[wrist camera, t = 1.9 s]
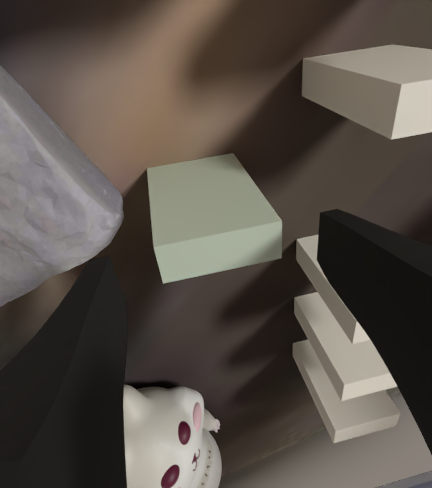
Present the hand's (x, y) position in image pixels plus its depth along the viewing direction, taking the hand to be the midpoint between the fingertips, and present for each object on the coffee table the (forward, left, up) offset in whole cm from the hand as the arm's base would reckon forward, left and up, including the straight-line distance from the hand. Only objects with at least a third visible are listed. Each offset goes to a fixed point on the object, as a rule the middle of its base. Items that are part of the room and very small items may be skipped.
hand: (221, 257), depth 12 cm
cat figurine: (-1, +20, -8) cm, 21 cm away
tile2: (-6, -6, -7) cm, 11 cm away
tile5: (-11, +8, -7) cm, 16 cm away
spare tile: (0, 0, -7) cm, 7 cm away
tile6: (-13, +12, -7) cm, 19 cm away
